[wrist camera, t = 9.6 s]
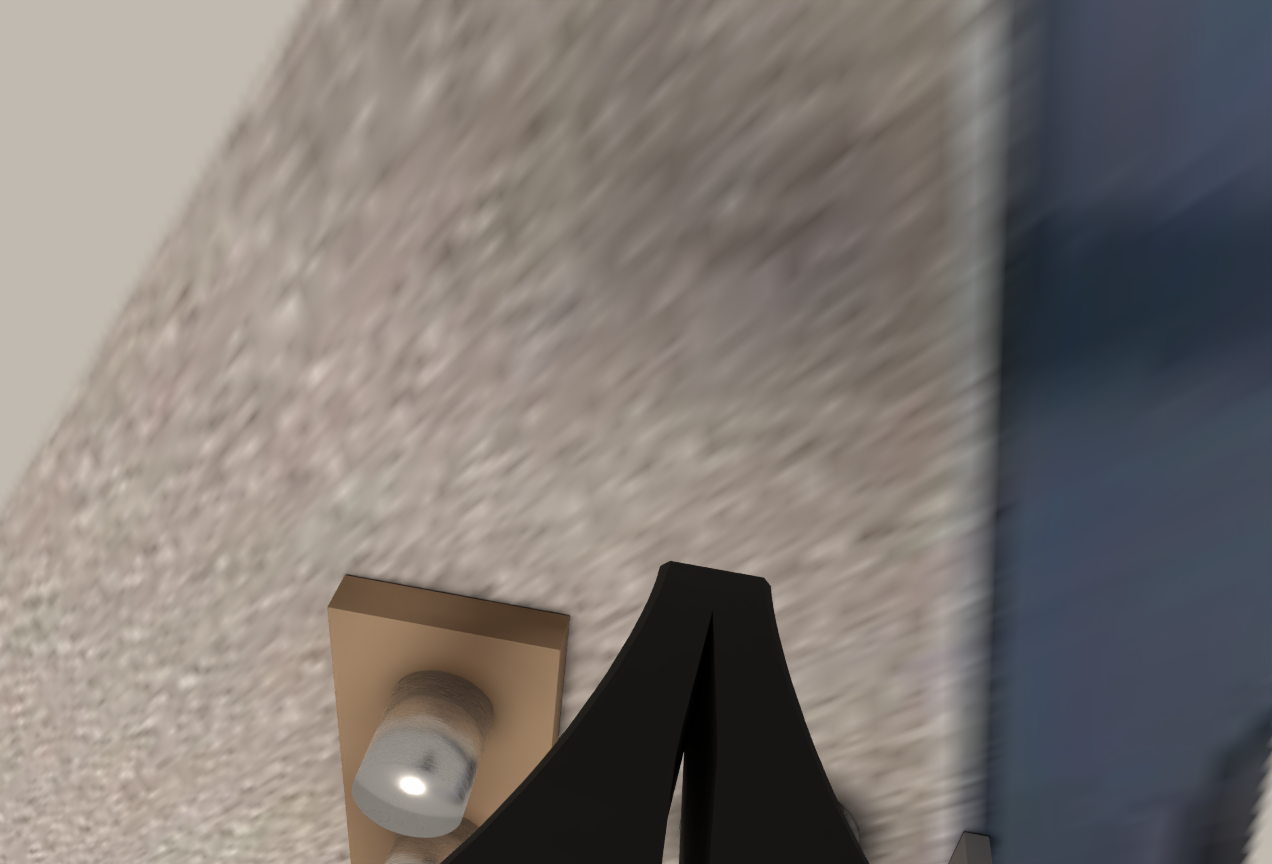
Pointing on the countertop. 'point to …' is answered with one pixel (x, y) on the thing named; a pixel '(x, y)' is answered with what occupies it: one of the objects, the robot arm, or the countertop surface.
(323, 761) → the countertop surface
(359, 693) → the pin board
